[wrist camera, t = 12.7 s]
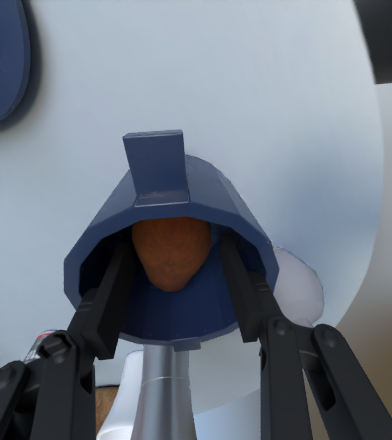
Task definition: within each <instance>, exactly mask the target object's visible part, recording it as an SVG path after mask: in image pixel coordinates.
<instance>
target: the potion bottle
mask: <svg viewBox="0 0 392 440" xmlns="http://www.w3.org/2000/svg"><path fill="white" fill-rule="evenodd" d="M273 250H274V253H275V256H276V259H277V262H278V265H279V268H280V270H279V274H278V278H277V282H276V285H275V289H274V293H273V295H274V297H275V299H276V301H277V303H278V305H279V307H280V309H281V311H282V313H283V314H284V316H285V317H286V318H288V319H289V320H290V321H291V322H293V323H295V324H298V325H301V326H306V327H311V328H314V327H313V325H312V324H313V323H314V322H315V321H317V320H318V319H319V318H321V317H322V312H323V308H324V299H323V288H322V285H321V283H320V281H319V279H318V277H317V274H316V272H315V271H314V270H313V269H312V268H310V267H309V266H308V265H306V264H305V263H304V262H302V261H301V260H300V259H298V258H297V257H295V256H293V255H292V254H290V253H289V252H287V251H284V250H283V249H281V248H280V247H278V248H273Z"/></svg>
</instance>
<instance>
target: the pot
mask: <svg viewBox="0 0 392 440" xmlns="http://www.w3.org/2000/svg"><path fill="white" fill-rule="evenodd" d="M123 142H124V146H125V150H126V155H127V159H128V163H129V167H130V170H128V172H127V173H126V175H125V176H124V177H123V179H122V180H121V181H120V183H119V184H118V186H117V187H116V188H115V190H114V191H113V193H112V194H111V195H110V197H109V198H108V200H107V201H106V202H105V204H104V205H103V206H102V208H101V209H100V211H99V212H98V213H97V215H96V216H95V218H94V219H93V220H92V222H91V223H90V225H89V226H88V227H87V229H86V230H85V232H84V233H83V234H82V236H81V237H80V238H79V240H78V241H77V243H76V244H75V245H74V247H73V248H72V250H71V251H70V252H69V254H68V255H67V257H66V258H65V259H64V293H65V295H66V296H67V298H68V299H69V301H70V302H71V304H72V305H73V307H74V308H75V310H77V308H78V306H79V305H80V302H81V300H82V298H83V296H84V295H85V293H86V292H87V291H88V290H89V289H90V288H97V287H100V284H101V282H102V280H103V277H104V275H105V273H106V270H107V268H108V265H109V263H110V261H111V258H112V256H113V254H114V251H115V249H116V246H117V244H118V243H127V242H128V244H129V247H130V250H131V254H132V257H133V260H134V263H135V266H136V270H135V274H134V278H133V282H132V286H131V290H130V294H129V298H128V302H127V306H126V310H125V314H124V318H123V322H122V326H121V330H120V334H119V338H120V339H123V340H127V341H130V342H133V343H136V344H145V345H158V346H173V348H174V352H180V351H188V350H197V349H200V348H201V346H200V342H204V341H207V340H210V339H213V338H216V337H219V336H222V335H225V334H228V333H229V332H232V331H234V330H235V329H237V328H239V325H238V321H237V317H236V314H235V310H234V307H233V303H232V299H231V296H230V292H229V289H228V285H227V281H226V278H225V274H224V271H223V267H222V264H221V260H220V254H221V234H222V233H231V235H232V237H233V240H234V242H235V244H236V247H237V249H238V252H239V254H240V257H241V259H242V261H243V264H244V266H245V269H246V271H256V270H258V271H259V272H260V273H261V274H262V275H263V276H264V277H265V279H266V281H267V283H268V285H269V287H270V289H271V291H272V293H274V289H275V285H276V282H277V278H278V274H279V270H280V268H279V265H278V262H277V259H276V256H275V253H274V250H273V247H272V244H271V241H270V240H269V238H268V237H267V235H266V234H265V232H264V231H263V229H262V228H261V226H260V225H259V223H258V222H257V220H256V219H255V217H254V216H253V214H252V213H251V211H250V210H249V208H248V207H247V206H246V204H245V203H244V201H243V200H242V198H241V197H240V195H239V194H238V192H237V191H236V189H235V188H234V186H233V185H232V183H231V182H230V181H229V180H228V179H227V178H226V177H225V176H224V175H223V174H222V173H221V172H220V171H219V170H218V169H217V168H216V167H214V166H213V165H212V164H211V163H208V162H206V161H204V160H202V159H199V158H197V157H193V156H189V155H185V152H184V140H183V132H182V130H167V131H152V132H138V133H128V134H126V135H125V136H123ZM184 216H188V217H192V218H196V219H200V220H204V221H208V222H209V224H210V230H211V247H210V251H209V254H208V256H207V258H206V260H205V262H204V264H203V265H202V266H201V267H200V269H199V270H198V271H197V272H196V273H195V274H194V275H193V276H192V278H191V279H190V280H189V282H188V283H187V284H186V286H185V287H184V288H183V289H181V290H178V291H176V292H165V291H163V290H160V289H158V288H156V287H155V286H154V285H153V284H152V283H151V282H150V281H149V279H148V277H147V274H146V272H145V269H144V267H143V265H142V263H141V261H140V259H139V256H138V254H137V251H136V249H135V246H134V244H133V241H132V224H134V223H136V222H138V221H141V220H150V219H162V218H173V217H184Z"/></svg>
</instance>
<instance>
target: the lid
mask: <svg viewBox="0 0 392 440" xmlns="http://www.w3.org/2000/svg"><path fill="white" fill-rule="evenodd" d="M30 67H31V47H30V39H29V31H28V25H27V21H26V17H25V12H24V8H23V5H22V2H21V0H0V122H1V121H2V120H4V119H5V118H6V117H8V116H9V115H10V114H11V113H12V112H13V111H14V110H15V109H16V107H17V106H18V105H19V103H20V102H21V100H22V98H23V96H24V94H25V91H26V88H27V84H28V81H29V75H30Z"/></svg>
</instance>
